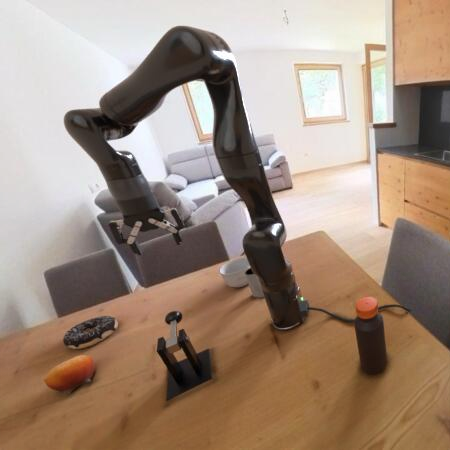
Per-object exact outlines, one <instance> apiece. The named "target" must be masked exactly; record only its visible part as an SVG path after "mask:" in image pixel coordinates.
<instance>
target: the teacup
mask: <svg viewBox="0 0 450 450" xmlns="http://www.w3.org/2000/svg"><path fill="white" fill-rule="evenodd" d="M249 268H251V267H250V265H249V262H248V260H247V258H246V255H245V254H244V255H243V257H238V258H235V259H232V260H230V261H227V262H226V263H225V264H223V265H222V266H220V268H219V274H220V275H221V276H222V279H223V281H224V283H225V284H226V285H227V286H228V287H231V288H243V287H245V286H247V285H249V284H248V281H247V278H246V275H245V271H246V270H248V269H249Z"/></svg>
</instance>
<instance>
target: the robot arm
mask: <svg viewBox="0 0 450 450" xmlns="http://www.w3.org/2000/svg"><path fill="white" fill-rule="evenodd" d="M192 82H203V83H204V85H205V88H206V90H207V93H208V96H209V98H210V103H211V105H212V110H213V123H212V132H211V133H212V135H211V143H212V144H211V145H212V150H213V154H214V157H215V159H216V163H217V165H218V167H219V170H220V173H221V175H222V177H223V178H224V180H225V182H226V184H228V185H229V187H230V188H231V189H232V190H233V191H234V192H235V193H236V194H237V195H238V196H239V197H240V199H241V200H242V202H243V203H244V206H245V207H246V209H247V212H248V215H249V219H250V224H251V227H250V228H249V229H248V230H247V231H246V233H244V235H243V238H242V249H243V253H244V256H245V255H246V258H247V260H248V262H249V265H250V267H251V270H252V271H253V273H254V274H255V275H256V276H257V277H258V280H259V283H260V286H261V289H262V292H263V295H264V297H263V298H264V301H265V303H266V307H267V310H268V313H269V318H270V320H271V321H272V325H273V327H274V328H275V329H276V330H278V331H288V330H291V329H294V328H297V326H299V325H301V324H304V323H305V318H307V317H309V311H318V312H321V313H324V314H326V315H328V316H330V317H333V318H336V319H338V320H341V321H344V322H349V323H354V321H355V318H345V317H343V316H339V315H337V314H334V313H332V312H330V311H328V310H326V309H324V308H320V307H314V306H313V307H312V306H310V304H309V300H308V299H306V300H304V298H303V295H302V292H301V288H300V286H298V284H297V280H296V277H295V272H294V269H293V265H292V262H291V260H289V259H287V258H285V256H284V252H283V249H282V248H283V246H284V244H285V242H286V240H287V235H288V232H287V228H286V225H285V223H284V220H283V218H282V216H281V214H280V211H279V209H278V206H277V204H276V203H275V199H274V196H273V193H272V189H271V186H270V182H269V179H268V176H267V173H266V169H265V165H264V162H263V159H262V155H261V152H260V149H259V146H258V143H257V140H256V138H255V134H254V131H253V127H252V124H251V121H250V117H249V114H248V110H247V108H246V105H245V100H244V95H243V91H242V86H241V81H240V76H239V71H238V66H237V63H236V59H235V56H234V54H233V51H232V49H231V47H230V46H229V44H228V43H227V41H226V40H225V38H223V37H221V36H220V35H218V34H216V33H215V32H213V31H209V30H205V29H201V28H197V27H194V26H189V25H176V26H172V27H171V28H170V29H168V30H167V31H166V32H165V33H164V34H163V35H162V37H161V38H160V39H159V40H158V41H157V43H156V44H155V45H154V46H153V48H152V49H151V50H150V52H149V53H148V54H147V55H146V56H145V58H144V59H143V60H142V62H140V64H139V65H138V66H137V67H136V68H135V69H134V71H132V73H131V74H128V76H127V77H125V78H124V79H123V80H121V81H120V82H119V83H118V84H116V85H115V86H113V87H112V88H110V89H109V90H107V92H105V93H104V94H103V95H102V96H101V97H100V98H99V101H98V105H99V107H92V108H76V109H75V108H74V109H70V110H68V111H66V112H65V114H64V115H63V125H64V128H65V131H66V132H67V134H68V135H69V136H70V137H71V139H73V141H75V142H76V144H77V145H78V146H79V147H80V148H81V149H82V150H83V151H84V152H85V153H86V154H87V155H88V156H89V157H90V158H91V159H92V160H93V162H94V163H95V164H96V166H97V167H98V170H99V171H100V174H101V175H102V177H103V179H104V181H105V183H106V187H107V189H108V191H109V193H110V196H111V197H112V199H113V201H114V202H115V205H116V206H117V208H118V210H119V212H120V213H121V215H122V217H123V218H122V219H118V220H116V219H111V220H110V222H109V223H108V227H109V229H110V232H111V234H112V236H113V238H114V240H115V242H116V244H118V245H123V244H126V245H128V246H129V248H130V249H131V251H132V254H134V255H137V256H142V255H143V252H144V251H143V249H142V248H141V245H140V243H139V242H138V240H137V239H136V238H137V236H138V233H140V232H141V233H146V232H149V231H154V230H158V229H159V228H161V229H163V230H166V231H169V232H171V234H172V237H173V239H174V241H175V243H176V246H180V245H181V243H182V242H183V238H182V235H181V233H180V231H181V230H184V229H185V222H184V220H183V218H182V216H181V214H180V213H179V211H178V209H177V207H175V206H173V207H171V208H169V209H166V210H163V209H162V208H161V206H160V204H159V202H158V200H157V198H156V196H155V193H154V191H153V187H152V186H151V184H150V183H149V181H148V179H147V178H146V177H145V174H144V172H143V171H142V169H141V166H140V164H139V162H138V159H137V158H136V156H135V155H134V153H133V152H132V151H129V150H123V149H122V150H121V149H119V150H118V149H115V147H113V146H112V145H111V144H110V143H109V142H110V141H117V140H120V139H124V138H127V137H128V136H130V135H131V134H132V133H133V132H134V131H135V130H136V129H137V127H138V125H139V123H141V122H143V121H144V120H145V119H147V118H148V117H150V116H152V115H153V114H154V113H156V112H158V111H159V109H160V108H161V107H162V105H163V104H164V102H165V99H166V97H167V95H168V94H169V93H170V92H172V91H173V90H175V89H176V88H179V87H181V86H184V85H186V84H189V83H192ZM166 216H168V217H170V218H173V219H174V221H175V223H176V225H175V224H172V223H171V222H170V221H168V220H166V219H165V217H166ZM123 225H124V226H127V227H129V228H131V232H130V234H129V236H124V234H123V231H122V228H123ZM386 308H387V309H388V308H400V309H403V310H405V311H407V312H409V313H410V312H411V311H412V310H411V309H409V308H408V307H406V306H404V305H402V304H395V303H394V304H385V305H381V306H378V311H380V310H381V309H386Z"/></svg>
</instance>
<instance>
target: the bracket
mask: <svg viewBox="0 0 450 450" xmlns="http://www.w3.org/2000/svg"><path fill="white" fill-rule="evenodd" d="M177 336H178V343H179V344H180V346H181V350H182V351H183V353H184V355H185V357H186V358H184V359H182V360H178V359H177V358H176V356H175V354H174V353H172V354H169V352H168V351H167V349H166V338H164V336H161V337H159V338H157V344H156V352H157V354H158V356H159V357H160V360H161V361H162V362H163V364H164V366H165V367H166V368H167V371H168V372H167V387H166V401H167V402H168V401H170V400H173V398H177V396H180V395H182V394H184V393H186V392H188V391H190V390H192V389H194V388H196V387H198V386H200V385H203V384H204V383H206V382H208V381H210V380H212V379H213V376H212V365H211V355H210V353H211V352H210V348H206V349H204V350H202V351H200V352H197V351H196V348H195V347H194V345H193V344H192V341H191V340H190V339H191V338H190V336H189V335H188V334H187V333H186V330H185V329H184V328H181V329H179V330H178V335H177Z"/></svg>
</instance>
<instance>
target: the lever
mask: <svg viewBox="0 0 450 450" xmlns="http://www.w3.org/2000/svg"><path fill="white" fill-rule="evenodd" d="M182 320H183V313H182V312H181V311H179V310H171V311H169V312H168V313H167V314H166V315H165V317H164V322H165V323H166V324H167V325H169V327H170V329H169V331H170V332H169V338H165V341H166V349H167V351H168V352H169V354H172V353H173V354H174V353H177V352H179V351H181V350H182V348H181V346H180V344H179V343H178V336H179V335H178V325H179V323H181V322H182Z"/></svg>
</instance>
